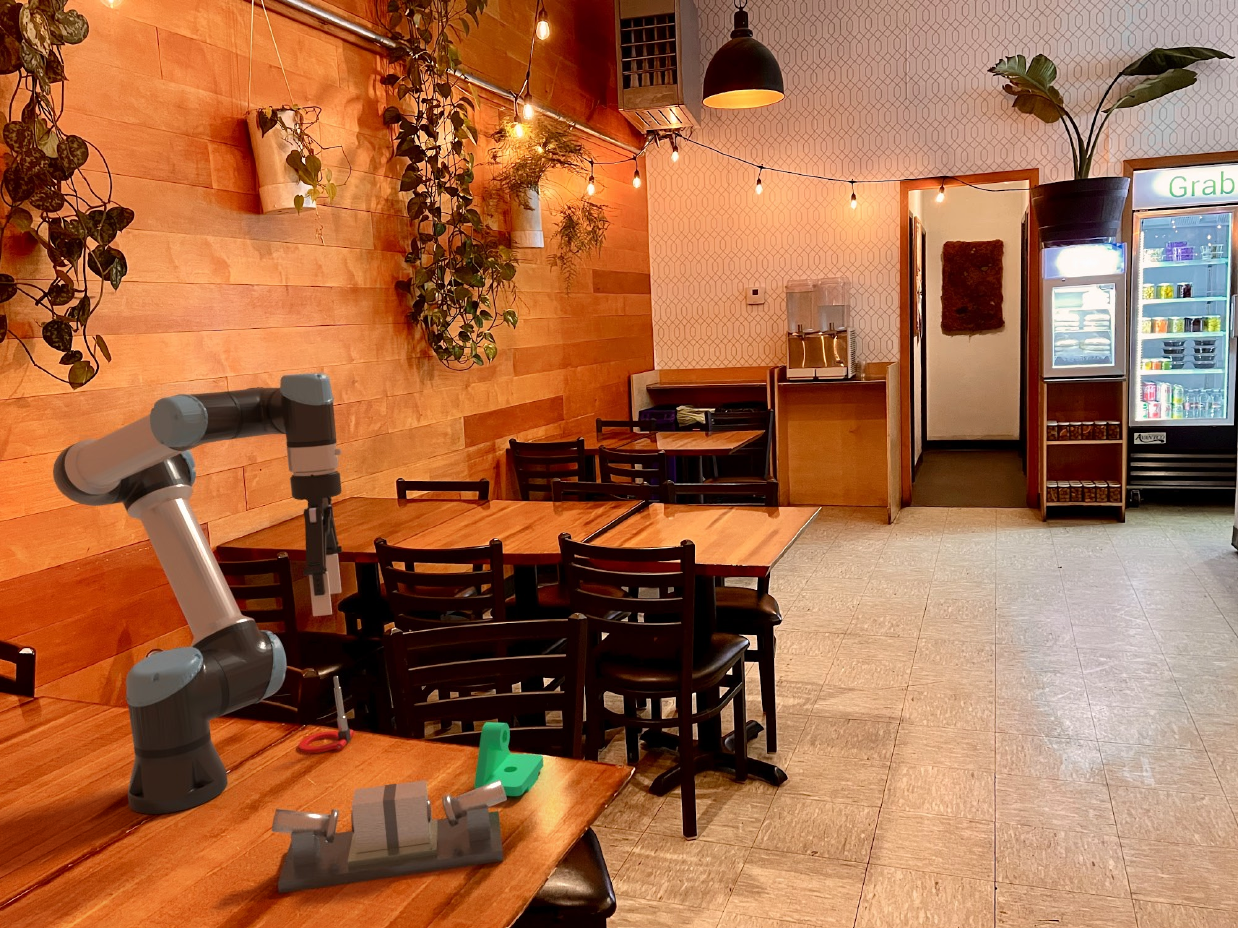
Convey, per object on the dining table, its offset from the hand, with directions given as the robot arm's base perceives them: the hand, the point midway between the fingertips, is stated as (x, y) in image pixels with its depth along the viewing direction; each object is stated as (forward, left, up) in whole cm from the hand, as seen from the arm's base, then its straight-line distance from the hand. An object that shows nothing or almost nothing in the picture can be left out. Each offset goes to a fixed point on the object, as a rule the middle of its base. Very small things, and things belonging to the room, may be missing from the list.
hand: (327, 603), depth 158 cm
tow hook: (-6, +22, -32) cm, 39 cm away
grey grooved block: (+9, -23, -29) cm, 38 cm away
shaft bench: (+9, -23, -32) cm, 40 cm away
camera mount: (+27, -5, -32) cm, 42 cm away
